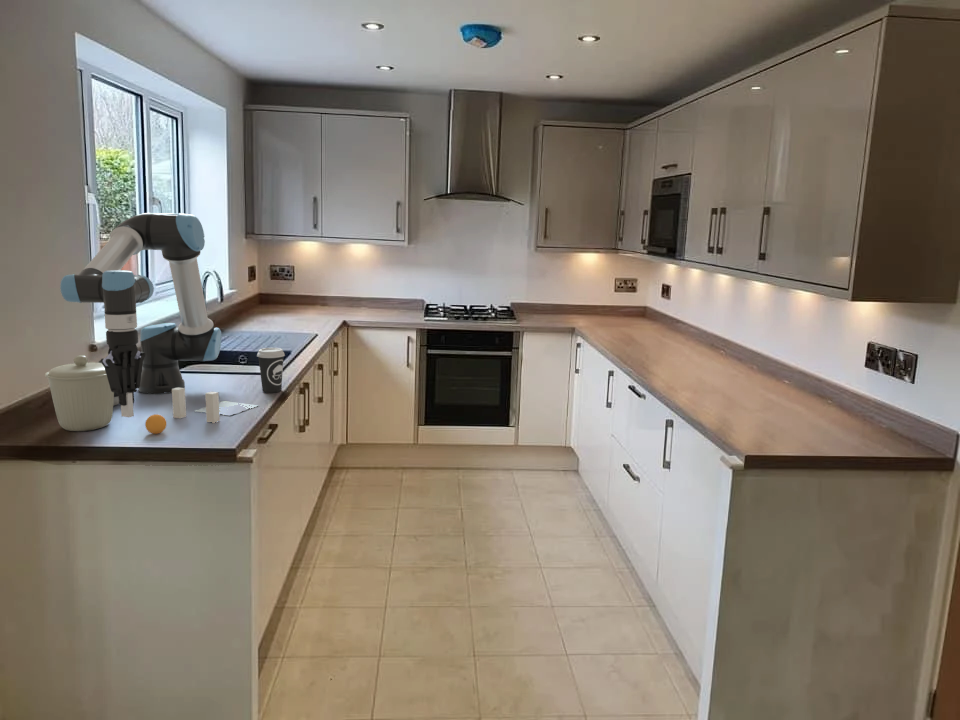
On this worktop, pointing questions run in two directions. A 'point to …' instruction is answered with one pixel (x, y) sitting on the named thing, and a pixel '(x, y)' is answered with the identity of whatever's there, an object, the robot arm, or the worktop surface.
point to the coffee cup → (271, 369)
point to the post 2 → (212, 407)
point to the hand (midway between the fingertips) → (127, 416)
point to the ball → (155, 424)
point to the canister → (81, 395)
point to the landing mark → (227, 404)
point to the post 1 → (179, 402)
